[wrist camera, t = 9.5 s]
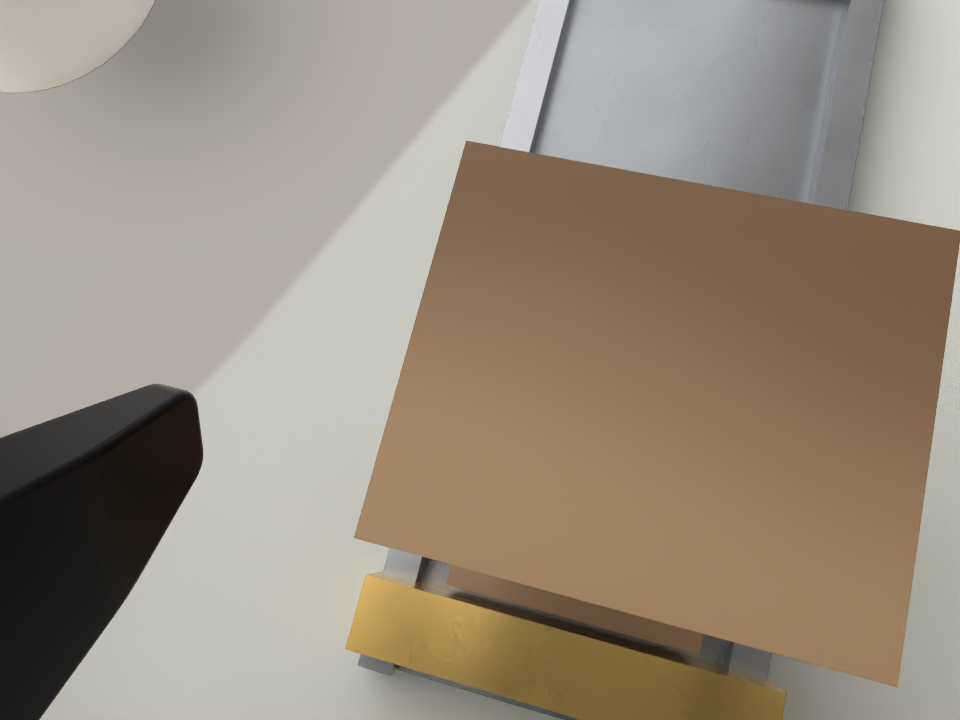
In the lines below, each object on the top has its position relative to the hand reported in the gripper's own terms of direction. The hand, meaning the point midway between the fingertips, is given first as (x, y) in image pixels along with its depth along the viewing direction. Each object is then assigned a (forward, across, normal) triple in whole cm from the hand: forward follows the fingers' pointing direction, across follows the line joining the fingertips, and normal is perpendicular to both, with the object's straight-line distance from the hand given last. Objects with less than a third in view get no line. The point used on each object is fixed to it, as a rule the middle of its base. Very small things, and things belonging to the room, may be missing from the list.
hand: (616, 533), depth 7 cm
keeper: (+9, 0, +7) cm, 11 cm away
